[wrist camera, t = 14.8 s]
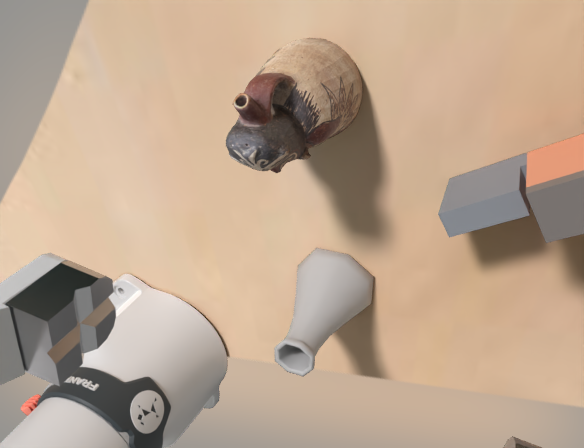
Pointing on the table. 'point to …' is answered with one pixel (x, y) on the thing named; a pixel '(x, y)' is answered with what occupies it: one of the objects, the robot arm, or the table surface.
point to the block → (557, 188)
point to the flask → (322, 306)
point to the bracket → (486, 197)
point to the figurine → (294, 104)
